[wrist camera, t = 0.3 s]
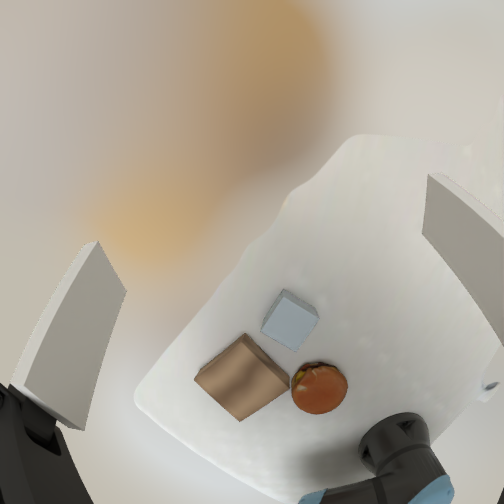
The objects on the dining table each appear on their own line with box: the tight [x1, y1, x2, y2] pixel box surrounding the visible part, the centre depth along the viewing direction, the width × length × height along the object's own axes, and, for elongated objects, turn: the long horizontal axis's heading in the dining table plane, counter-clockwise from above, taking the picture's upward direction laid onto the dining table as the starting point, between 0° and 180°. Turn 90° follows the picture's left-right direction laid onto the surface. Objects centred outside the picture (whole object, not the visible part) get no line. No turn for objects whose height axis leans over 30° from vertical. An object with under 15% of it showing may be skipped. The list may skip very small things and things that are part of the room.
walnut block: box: [194, 333, 290, 422], centre depth 44 cm, size 11×11×4 cm
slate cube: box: [260, 289, 320, 352], centre depth 42 cm, size 6×6×6 cm
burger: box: [291, 362, 348, 414], centre depth 43 cm, size 10×9×5 cm
